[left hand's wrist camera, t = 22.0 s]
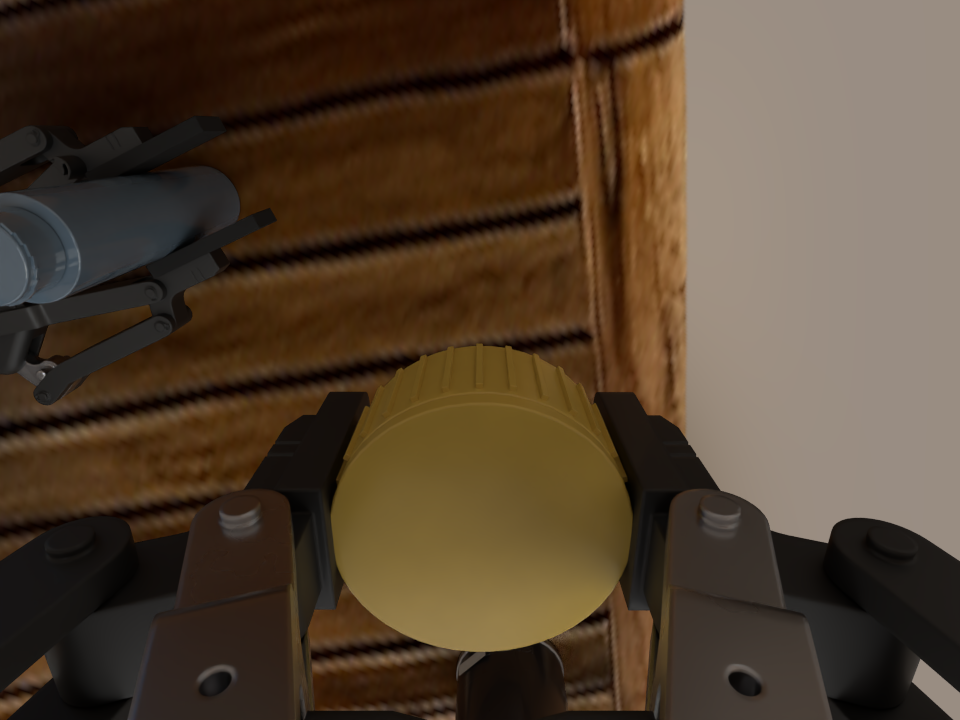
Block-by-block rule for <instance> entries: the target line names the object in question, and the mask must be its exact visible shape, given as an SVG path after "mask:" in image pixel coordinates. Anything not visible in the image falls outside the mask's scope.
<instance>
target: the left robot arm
mask: <svg viewBox="0 0 960 720" xmlns="http://www.w3.org/2000/svg"><path fill="white" fill-rule="evenodd" d="M594 403H596V405H597V407H598V409H599V411H600V414H601V416H602V418H603V421H604V423H605V425H606V427H607V430H608V432H609V435H610V437H611V439H612V442H613V444H614V447H615V449H616V451H617V454H618V456H619V458H620V461H621V463H622V466H623V468H624V470H625V473H626V475H627V478H628V481H627V482H625V483H624V484H625V486H626V489H627V492H628V494H629V497H630V501H631V506H632V511H633V523H632V533H631V541H630V549H629V556H628V562H627V565H626V567H625V569H624V572H623V574H622V576H621V578H620V580H619V581H620V585H621V588H622V591H623V594H624V598H625V601H626V604H627V607H628V610H650V612H651V615H652V618H653V627H652V633H651V640H650V652H649V666H648V679H647V692H646V706H645V711H568V705H567V697H566V691H565V684H564V678H563V677H564V671H563V664H562V659H561V656H560V654H559V652H558V651H557V649H556V648H555V647H554V646H553V644H551V643H550V642H549V641H548V640H545V641H543V642H539V643H536V644H533V645H529V646H526V647H521V648H516V649H511V650H503V651H493V652H470V651H462V653H461V654H460V656H459V659H458V662H457V673H456V676H457V700H456V720H953V719H952V718H951V717H949V716H948V715H947V714H946V713H945V712H944V711H943V710H942V709H941V708H940V707H939V706H938V705H936V704H935V703H934V702H933V701H932V700H931V699H930V698H929V697H928V696H927V695H926V694H924V693H923V692H922V691H921V690H920V689H919V688H918V687H917V686H916V685H915V684H914V683H912V679H913V677H914V674H915V671H916V669H917V666H918V664H919V661H920V659H922V660H923V661H924V662H925V663H926V664H928V665H929V666H930V667H931V668H932V669H933V670H934V671H936V672H937V673H938V674H939V675H940V676H941V677H942V678H944V679H945V680H946V681H947V682H948V683H949V684H951V685H952V686H953V687H954V688H955V689H956V690H957V691H959V692H960V561H959V560H957V559H956V558H954V557H953V556H951V555H949V554H948V553H946V552H945V551H943V550H942V549H940V548H939V547H937V546H936V545H934V544H933V543H931V542H930V541H928V540H927V539H925V538H923V537H922V536H920V535H918V534H916V533H914V532H912V531H910V530H908V529H905V528H903V527H901V526H898V525H895V524H892V523H888V522H885V521H881V520H875V519H868V518H850V519H845V520H842V521H840V522H838V523H836V524H835V525H834V527H833V529H832V531H831V535H830V539H829V542H828V543H824V542H818V541H814V540H809V539H804V538H799V537H794V536H789V535H785V534H781V533H777V532H774V531H771V530H770V527H769V523H768V520H767V518H766V517H765V515H764V514H763V513H762V512H761V511H760V510H759V509H758V508H757V507H756V506H754V505H753V504H751V503H750V502H748V501H746V500H744V499H742V498H741V497H738V496H736V495H733V494H730V493H727V492H723V491H720V489H719V488H718V486H717V485H716V483H715V482H714V480H713V479H712V477H711V476H710V474H709V473H708V471H707V470H706V468H705V467H704V465H703V464H702V462H701V461H700V459H699V458H698V457H696V453H695V452H694V450H693V449H692V447H691V446H690V445H688V441H687V440H686V438H685V437H684V435H683V434H682V432H681V431H680V429H679V428H678V427H677V426H675V425H674V424H672V423H671V422H669V421H668V420H666V419H665V418H663V417H662V416H653V415H647V414H646V412H645V411H644V409H643V407H642V406H641V404H640V402H639V401H638V399H637V397H636V395H635V394H634V393H633V392H597V393H596V394H595V398H594ZM365 406H368V407H370V403H369V397H368V394H367V392H330V393H329V394H328V395H327V397H326V399H325V401H324V402H323V404H322V406H321V408H320V409H319V411H318V413H317V415H303V416H301V417H300V418H298V419H297V420H295V421H294V422H292V423H291V424H289V425H288V426H286V427H285V428H284V429H283V431H282V432H281V434H280V435H279V437H278V438H277V440H276V442H275V444H274V445H273V446H272V448H271V449H270V451H269V452H268V456H267V457H265V458H264V460H263V461H262V463H261V464H260V466H259V467H258V469H257V470H256V472H255V474H254V475H253V477H252V478H251V480H250V481H249V483H248V484H247V486H246V487H245V489H244V490H241V491H237V492H233V493H230V494H227V495H224V496H222V497H219V498H217V499H215V500H214V501H212V502H210V503H209V504H207V505H206V506H204V507H203V508H202V509H201V510H200V511H199V512H198V513H197V514H196V515H195V517H194V518H193V520H192V523H191V527H190V531H188V532H185V533H180V534H176V535H171V536H167V537H162V538H157V539H152V540H147V541H142V542H137V543H134V540H133V536H132V533H131V529H130V527H129V525H128V524H127V523H126V522H125V521H124V520H122V519H119V518H116V517H109V516H98V517H89V518H84V519H79V520H75V521H72V522H69V523H66V524H63V525H60V526H58V527H55V528H53V529H51V530H49V531H47V532H45V533H43V534H41V535H40V536H38V537H36V538H35V539H33V540H32V541H30V542H29V543H27V544H26V545H24V546H23V547H21V548H20V549H18V550H17V551H15V552H14V553H12V554H11V555H9V556H7V557H6V558H4V559H3V560H1V561H0V692H1V691H3V690H4V689H5V688H6V687H7V686H8V685H9V684H11V683H12V682H13V681H14V680H15V679H16V678H18V677H19V676H20V675H21V674H22V673H23V672H25V671H26V670H27V669H28V668H29V667H30V666H31V665H33V664H34V663H35V662H36V661H37V660H38V659H40V658H41V657H42V656H43V655H45V657H46V660H47V663H48V665H49V668H50V671H51V673H52V676H53V678H52V679H51V680H50V681H49V682H48V683H46V684H45V685H44V686H43V687H42V688H41V689H40V690H39V691H38V692H37V693H36V694H34V695H33V696H32V697H31V698H30V699H29V700H28V701H27V702H26V703H25V704H24V705H22V706H21V707H20V708H19V709H18V710H17V711H16V712H15V713H14V714H13V715H12V716H10V717H9V718H8V719H7V720H425V719H422V718H418V717H414V716H410V715H406V714H402V713H398V712H395V711H315V706H314V692H313V679H312V665H311V652H310V640H309V633H308V626H309V624H310V621H311V618H312V615H313V612H314V609H336V606H337V603H338V599H339V596H340V593H341V589H342V586H343V583H344V580H343V578H342V576H341V574H340V572H339V570H338V568H337V565H336V559H335V551H334V542H333V534H332V525H331V515H330V511H331V505H332V500H333V496H334V494H335V491H336V488H337V483H336V479H337V476H338V474H339V472H340V469H341V467H342V464H343V462H344V459H343V457H344V455H345V453H346V450H347V448H348V445H349V443H350V441H351V438H352V436H353V433H354V431H355V429H356V426H357V424H358V421H359V419H360V417H361V414H362V412H363V410H364V408H365Z"/></svg>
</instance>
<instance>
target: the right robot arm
mask: <svg viewBox="0 0 960 720" xmlns="http://www.w3.org/2000/svg"><path fill="white" fill-rule="evenodd" d="M224 132H226V129H225V127H224V126H223V124H222V122H221V120H220V118H219V117H209V116H194V117H192V118H190V119H188V120H186V121H184V122H182V123H180V124H178V125H176V126H174V127H173V128H171V129H169V130H167V131H165V132H163V133H161V134H159V135H157V136H155V137H153V135H152V134H151V132H150V130H149V129H148V127H121V128H119V129H117V130H116V131H114V132H112V133H110V134H108V135H106V136H105V137H102V138H101V139H99V140H97V141H95V142H93V143H91V144H89V145H87V146H85V145H83V144H82V143H81V142H80V141H79V140H78V137H77V135H76V133H75V132H74V131H73V130H72V129H71V128H69V127H67V126H26V127H24V128H22V129H20V130H18V131H16V132H14V133H12V134H10V135H8V136H6V137H4V138H2V139H0V186H1V185H3V184H5V183H7V182H9V181H11V180H13V179H15V178H17V177H19V176H21V175H23V174H25V173H27V172H29V171H31V170H33V169H35V168H37V167H39V166H41V165H43V164H45V163H47V162H49V161H51V162H52V163H53V164H52V165H51V166H50V167H49V168H48V169H47V170H46V171H45V172H44V173H43V174H42V175H41V176H40V177H38V178H37V179H36V180H35V181H34V182H33V183H32V184H31V185H30V186H29V187H28V188H27V189H32V188H40V187H47V186H54V185H61V184H68V183H75V182H82V181H89V180H96V179H103V178H110V177H118V176H125V175H132V174H139V173H146V172H148V171H150V170H152V169H154V168H156V167H158V166H160V165H162V164H164V163H166V162H168V161H170V160H171V159H173V158H175V157H177V156H179V155H181V154H183V153H185V152H187V151H189V150H191V149H193V148H195V147H197V146H199V145H201V144H203V143H205V142H206V141H208V140H210V139H212V138H214V137H216V136H218V135H220V134H222V133H224ZM275 221H277V220H276V218H275V216H274V214H273V212H272V211H271V209H270V208H268V209H266V210H263V211H260V212H258V213H255V214H252V215H250V216H248V217H246V218H244V219H242V220H240V221H238V222H236V223H233V224H231V225H229V226H227V227H225V228H223V229H221V230H219V231H217V232H215V233H213V234H211V235H209V236H207V237H205V238H202V239H200V240H198V241H196V242H194V243H192V244H190V245H188V246H186V247H184V248H182V249H180V250H178V251H176V252H174V253H171V254H169V255H167V256H165V257H163V258H161V259H159V260H157V261H155V262H153V263H151V264H149V265H147V266H146V267H147V269H148V270H149V272H150V273H151V275H149V276H144V277H139V278H135V279H130V280H125V281H120V282H115V283H110V284H105V285H101V286H96V287H91V288H88V289H86V290H83V291H81V292H78V293H76V294H73V295H71V296H69V297H66V298H64V299H61V300H59V301H56V302H52V303H46V304H37V303H29V302H24V303H22V304H18V305H14V306H1V307H0V374H5V375H7V374H14V373H18V374H20V375H21V376H23V377H24V378H26V379H27V380H28V381H30V382H31V383H33V384H34V385H35V386H37V387H36V388H35V390H34V392H33V393H34V397H35V399H36V400H37V401H38V402H39V403H41V404H43V405H51V404H53V403H54V402H56V401H57V400H59V399H61V398H62V397H64V396H65V395H67V394H68V393H70V392H71V391H73V390H75V389H76V388H78V387H79V386H80V385H81V384H82V383H83V382H84V380H85V379H86V378H87V377H88V376H89V374H90V373H92V372H94V371H96V370H98V369H100V368H102V367H104V366H107V365H109V364H111V363H113V362H115V361H117V360H119V359H121V358H123V357H125V356H127V355H129V354H131V353H133V352H135V351H137V350H139V349H141V348H143V347H146V346H148V345H150V344H152V343H154V342H156V341H158V340H160V339H162V338H164V337H166V336H168V335H169V334H171V333H173V332H174V331H176V330H177V329H179V328H180V327H182V326H183V325H185V324H186V323H188V322H189V321H190V320H191V318H192V312H191V309H190V308H189V307H188V306H186V305H185V302H184V297H183V296H184V292H185V290H186V289H187V288H189V287H191V286H193V285H195V284H198V283H200V282H202V281H204V280H206V279H208V278H210V277H212V276H214V275H216V274H218V273H220V272H222V271H224V270H225V269H226V267H227V266H228V265H229V264H230V262H229V261H228V259H227V257H226V256H225V254H224V253H223V251H222V249H221V247H223V246H225V245H227V244H229V243H231V242H233V241H235V240H237V239H240V238H242V237H244V236H246V235H248V234H250V233H252V232H254V231H256V230H258V229H260V228H263V227H265V226H267V225H269V224H271V223H273V222H275ZM144 305H149V306H150V309H151V313H152V316H151V317H149V318H147V319H145V320H143V321H141V322H139V323H137V324H135V325H133V326H131V327H129V328H127V329H125V330H123V331H121V332H119V333H117V334H115V335H113V336H111V337H109V338H107V339H105V340H103V341H101V342H99V343H97V344H95V345H93V346H91V347H89V348H87V349H85V350H84V351H82V352H80V353H78V354H76V355H75V356H73V357H70V356H64V357H63V356H60V355H55V356H52V357H51V358H49V359H42V358H40V357H38V356H39V352H40V349H41V346H42V343H43V340H44V337H45V334H46V331H47V327H48V325H50V324H55V323H60V322H64V321H69V320H74V319H79V318H84V317H89V316H94V315H99V314H104V313H109V312H114V311H119V310H124V309H129V308H134V307H139V306H144Z"/></svg>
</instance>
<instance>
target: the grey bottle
mask: <svg viewBox="0 0 960 720" xmlns="http://www.w3.org/2000/svg"><path fill="white" fill-rule="evenodd" d="M239 212H240V201H239V197H238V193H237V191H236V189H235V187H234V185H233V184H232V183H231V181H230V180H229V179H228V178H227V177H226V176H225V175H224V174H223V173H221V172H220V171H218V170H216V169H214V168H211V167H208V166H203V165H196V166H188V167H181V168H174V169H167V170H160V171H153V172H146V173H139V174H132V175H125V176H118V177H110V178H103V179H96V180H89V181H82V182H75V183H68V184H61V185H54V186H47V187H40V188H32V189H25V190H18V191H11V192H4V193H0V307H1V306H14V305H18V304H22V303H24V302H29V303H37V304H46V303H52V302H56V301H59V300H61V299H64V298H66V297H69V296H71V295H73V294H76V293H78V292H81V291H83V290H86V289H88V288H91V287H93V286H95V285H98V284H100V283H103V282H105V281H108V280H110V279H113V278H115V277H117V276H120V275H122V274H125V273H127V272H130V271H132V270H135V269H137V268H140V267H142V266H144V265H147V264H149V263H152V262H154V261H157V260H159V259H161V258H163V257H165V256H167V255H169V254H171V253H174V252H176V251H178V250H180V249H182V248H184V247H186V246H188V245H190V244H192V243H194V242H196V241H198V240H200V239H202V238H205V237H207V236H209V235H211V234H213V233H215V232H217V231H219V230H221V229H223V228H225V227H227V226H229V225H231V224H233V223H236V221H237V219H238V216H239Z"/></svg>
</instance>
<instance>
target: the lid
mask: <svg viewBox="0 0 960 720" xmlns="http://www.w3.org/2000/svg"><path fill="white" fill-rule="evenodd" d="M343 459H344V462H343V464H342V467H341V469H340V472H339V474H338V476H337V479H336V483H337V488H336V491H335V494H334V496H333V500H332V505H331V511H330V515H331V525H332V534H333V542H334V551H335V559H336V565H337V568H338V570H339V572H340V574H341V576H342V578H343V580H344V582H345V583H346V585H347V586H348V588H349V589H350V591H351V592H352V594H353V595H354V596H355V597H356V598H357V599H358V601H359V602H360V603H361V604H362V605H363V606H364V607H365V608H366V609H367V610H368V611H369V612H370V613H372V614H373V615H374V616H375V617H376V618H378V619H379V620H381V621H382V622H383V623H385V624H386V625H388V626H389V627H391V628H393V629H395V630H396V631H398V632H400V633H402V634H404V635H406V636H408V637H411V638H413V639H415V640H418V641H420V642H424V643H427V644H430V645H433V646H437V647H442V648H447V649H452V650H460V651H470V652H493V651H503V650H511V649H516V648H521V647H526V646H529V645H533V644H536V643H539V642H543V641H545V640H547V639H550V638H552V637H555V636H557V635H559V634H561V633H563V632H565V631H566V630H568V629H570V628H572V627H574V626H575V625H577V624H578V623H579V622H581V621H582V620H584V619H585V618H586V617H588V616H589V615H590V614H591V613H592V612H593V611H595V610H596V609H597V608H598V607H599V606H600V605H601V604H602V603H603V602H604V600H605V599H606V598H607V597H608V596H609V595H610V593H611V592H612V591H613V589H614V588H615V586H616V584H617V583H618V581H619V580H620V578H621V576H622V574H623V572H624V569H625V567H626V565H627V562H628V556H629V549H630V541H631V533H632V523H633V511H632V506H631V501H630V497H629V494H628V492H627V489H626V486H625V484H624V483H625V482H627V481H628V478H627V475H626V473H625V470H624V468H623V466H622V463H621V461H620V458H619V456H618V454H617V451H616V449H615V447H614V444H613V442H612V439H611V437H610V435H609V432H608V430H607V427H606V425H605V423H604V421H603V418H602V416H601V414H600V411H599V409H598V407H597V405H596V403H594V404H592V405H591V403H590V401H589V400H588V398H587V395H586V393H585V390H584V388H583V386H582V385H581V384H580V383H578V384H577V385H576V384H575V383H574V382H573V381H572V380H571V379H570V378H569V377H568V376H567V375H565V373H564V370H563V368H561V367H560V366H558V367H557V368H556V367H554V366H552V365H551V364H549V363H547V362H545V361H543V360H541V359H540V358H539V355H537V354H534V353H533V355H529V354H527V353H524V352H520V351H516V350H512V347H510V346H505V348H501V347H493V346H483V344H476V346H470V347H462V348H454V347H453V346H452V347H448V348H447V350H446V351H442V352H439V353H436V354H433V355H431V356H428V357H427V356H426V355H423V356H421V357H420V360H419V361H418V362H416V363H414V364H412V365H410V366H408V367H407V368H406V369H404V370H403V369H402V368H400V369H399V370H397V372H396V375H395V377H394V378H393V379H392V380H391V381H390V382H389V383H388V384H387V385H385V386H384V387H383V386H380V387H379V388H378V389H377V392H376V394H375V397H374V399H373V402H372V404H371V406H370V407H368V406H365V408H364V410H363V412H362V414H361V417H360V419H359V421H358V424H357V426H356V429H355V431H354V433H353V436H352V438H351V441H350V443H349V445H348V448H347V450H346V453H345V455H344V457H343Z"/></svg>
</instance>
